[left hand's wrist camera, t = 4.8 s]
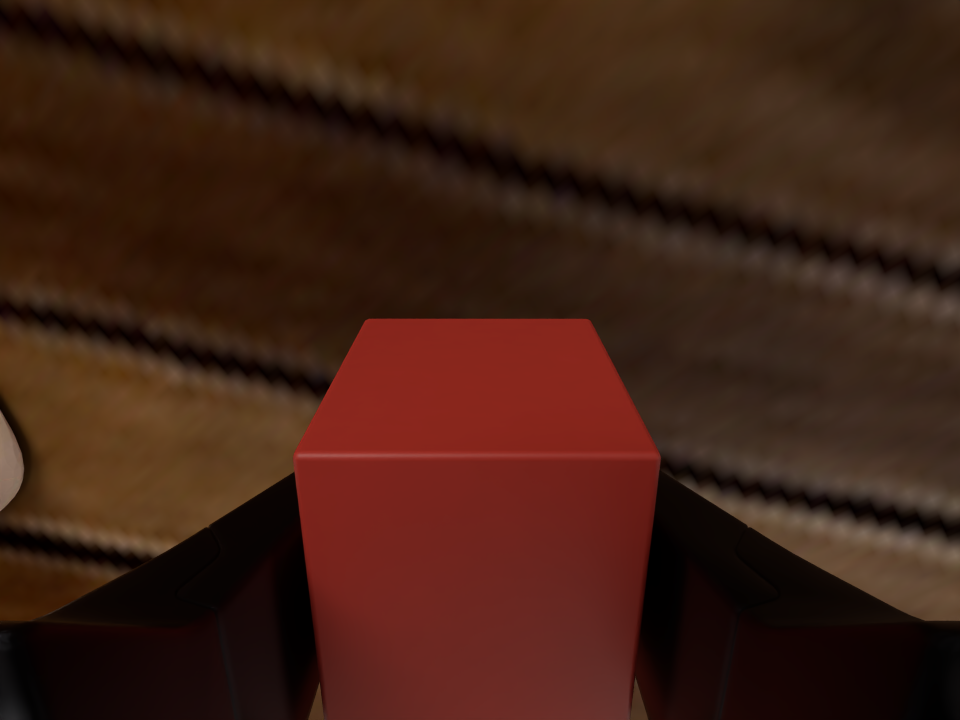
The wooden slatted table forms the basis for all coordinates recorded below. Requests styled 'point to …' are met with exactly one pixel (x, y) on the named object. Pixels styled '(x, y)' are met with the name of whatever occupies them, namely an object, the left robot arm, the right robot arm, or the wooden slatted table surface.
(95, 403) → the wooden slatted table surface
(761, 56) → the wooden slatted table surface
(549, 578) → the block
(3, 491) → the anatomical model
